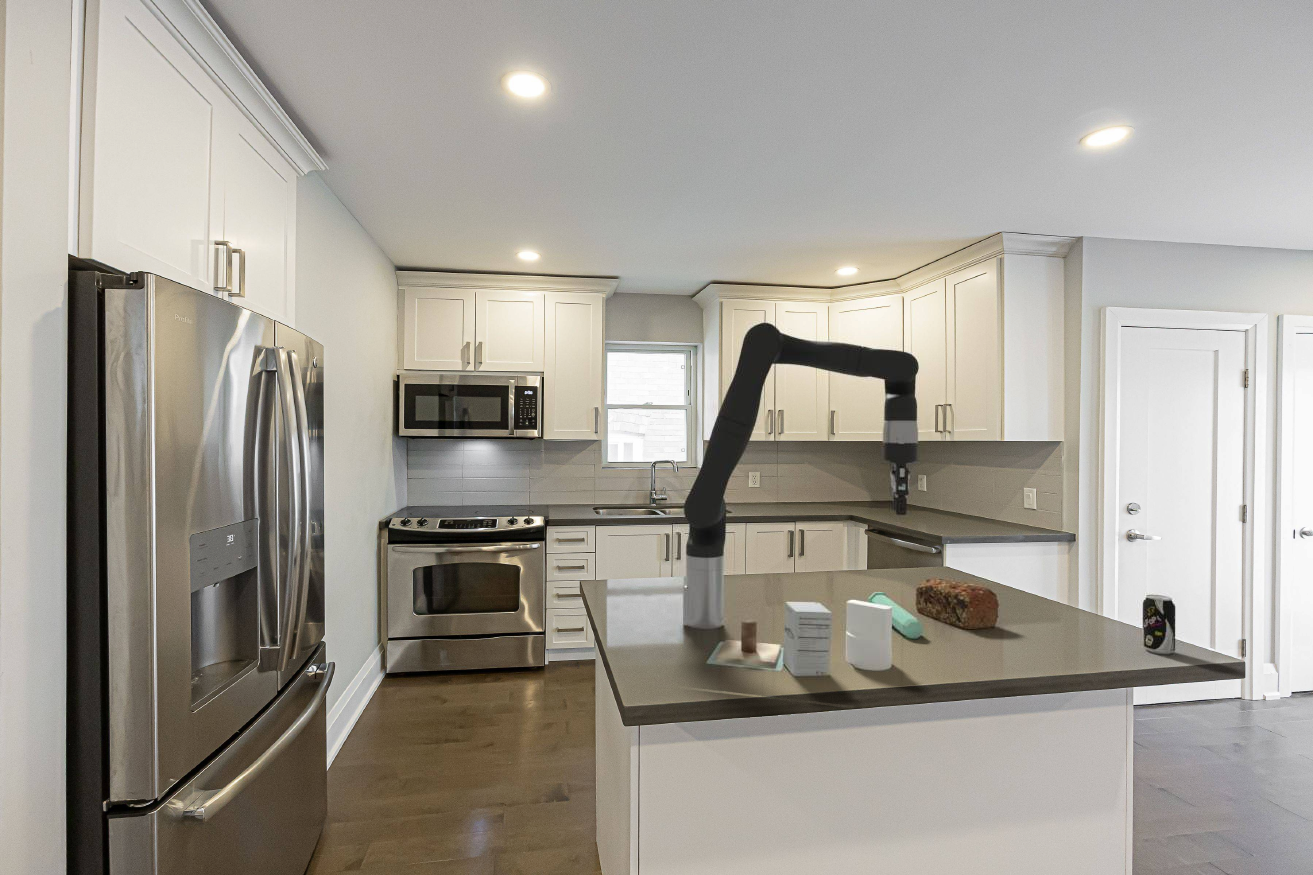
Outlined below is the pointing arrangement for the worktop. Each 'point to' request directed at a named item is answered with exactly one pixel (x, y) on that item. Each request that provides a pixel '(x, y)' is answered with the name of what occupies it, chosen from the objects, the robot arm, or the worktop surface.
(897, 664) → the worktop surface
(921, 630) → the container
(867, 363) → the robot arm
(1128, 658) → the worktop surface
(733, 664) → the mat
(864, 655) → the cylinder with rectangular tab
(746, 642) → the lid
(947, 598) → the bread
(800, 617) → the supplement box
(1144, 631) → the beverage can
